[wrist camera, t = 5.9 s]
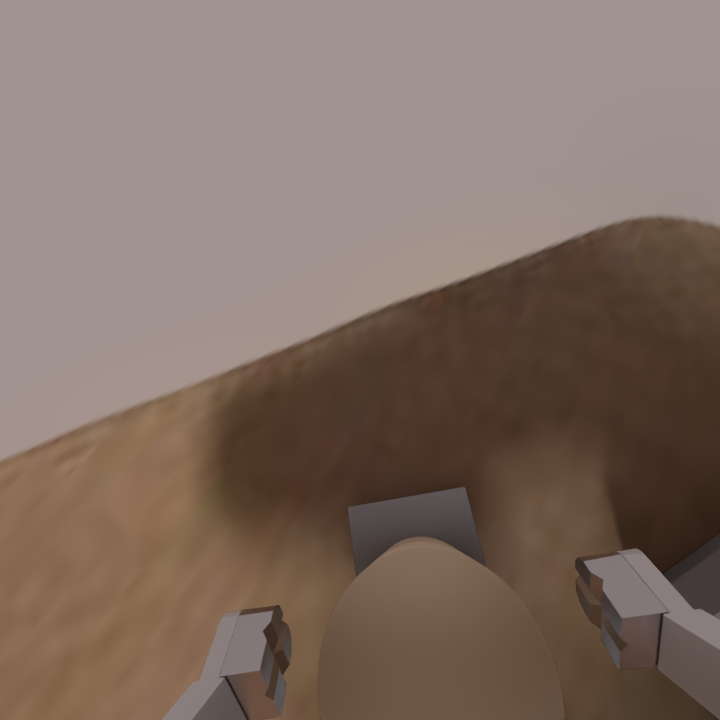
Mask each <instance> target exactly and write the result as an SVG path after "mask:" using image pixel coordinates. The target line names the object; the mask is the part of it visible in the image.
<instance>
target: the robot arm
mask: <svg viewBox="0 0 720 720" xmlns="http://www.w3.org/2000/svg"><path fill="white" fill-rule="evenodd" d="M575 568H576V570H577V571H578V573H579V574H580V576H579V577H578V578H577V579H576V591H577V594H578V598H579V601H580V603H581V606H582V608H583V610H584V612H585V614H586V615H587V617H588V619H589V621H590V622H592V623H593V624H594V625H596V626H597V627H599V628H600V629H601V641H602V642H603V644H604V646H605V647H606V649H607V651H608V652H609V654H610V656H611V657H612V659H613V661H614V662H615V664H616V666H617V667H618V669H619V671H621V670H631V669H641V668H650V667H658V668H657V669H658V670H659V671H660V672H662V673H663V674H664V675H665V676H666V677H668V678H669V679H670V680H671V681H673V682H674V683H675V684H676V685H677V686H679V687H680V688H681V689H682V690H684V691H685V692H686V693H687V694H688V695H690V696H691V697H692V698H693V699H695V700H696V701H697V702H698V703H700V704H701V705H702V706H703V707H704V708H706V709H707V710H708V711H709V712H711V713H712V714H713V715H714V716H715V717H717V718H718V719H719V720H720V619H718V618H716V617H714V616H712V615H711V614H709V613H707V612H705V611H704V610H702V609H693V608H692V607H691V606H690V605H689V604H688V602H687V601H686V600H685V599H684V598H683V597H682V596H681V595H680V593H679V592H678V591H677V590H676V589H675V588H674V587H673V586H672V584H671V583H670V582H669V581H668V580H667V579H666V578H665V577H664V576H663V574H662V573H661V572H660V571H659V570H658V569H657V568H656V567H655V565H654V564H653V563H652V562H651V561H650V560H649V559H648V558H647V557H646V555H645V554H644V553H643V552H642V551H640V550H639V549H629V550H623V551H617V552H614V551H613V552H607V553H602V554H596V555H590V556H584V557H579V558H577V559H576V564H575ZM282 616H283V612H282V610H281V608H280V606H279V605H276V606H269V607H261V608H253V609H245V610H238V611H231V612H225V614H224V615H223V617H222V618H221V620H220V623H219V626H218V628H217V631H216V634H215V637H214V640H213V642H212V645H211V648H210V651H209V654H208V657H207V659H206V662H205V665H204V668H203V671H202V673H201V676H200V679H199V681H194V682H193V683H192V684H191V685H190V686H189V688H188V689H187V690H186V691H185V692H184V694H183V695H182V696H181V697H180V698H179V700H178V701H177V702H176V703H175V704H174V705H173V707H172V708H171V709H170V710H169V711H168V713H167V714H166V715H165V716H164V717H163V719H162V720H262V719H268V718H274V717H280V716H281V715H282V708H283V702H284V696H285V690H286V683H285V680H284V678H283V676H282V675H283V674H284V672H285V671H286V669H287V668H288V666H289V665H290V658H291V634H290V630H289V627H288V624H286V623H285V622H283V621H282Z"/></svg>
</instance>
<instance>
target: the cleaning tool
mask: <svg viewBox="0 0 720 720" xmlns="http://www.w3.org/2000/svg"><path fill="white" fill-rule="evenodd" d="M348 515H349V523H350V530H351V538H352V546H353V554H354V562H355V570H356V578H355V579H354V580H353V581H352V583H351V584H350V585H349V586H348V588H347V589H346V590H345V592H344V593H343V594H342V596H341V597H340V599H339V601H338V603H337V605H336V606H335V608H334V610H333V612H332V615H331V617H330V619H329V622H328V624H327V627H326V631H325V634H324V637H323V641H322V646H321V651H320V657H319V665H318V679H317V680H318V703H319V711H320V718H321V720H565V708H564V701H563V694H562V687H561V683H560V679H559V675H558V671H557V667H556V664H555V661H554V658H553V656H552V653H551V650H550V647H549V645H548V643H547V641H546V639H545V637H544V634H543V632H542V630H541V628H540V627H539V625H538V623H537V622H536V620H535V618H534V617H533V615H532V613H531V612H530V610H529V609H528V608H527V606H526V605H525V604H524V603H523V601H522V600H521V599H520V597H519V596H518V595H517V594H516V593H515V592H514V591H513V590H512V589H511V588H510V587H509V586H508V584H507V583H505V582H504V581H503V580H502V579H501V578H499V577H498V576H497V575H496V574H495V573H494V572H492V571H491V570H489V569H488V568H486V564H485V561H484V557H483V553H482V549H481V546H480V542H479V538H478V534H477V530H476V527H475V523H474V519H473V515H472V512H471V508H470V504H469V500H468V496H467V493H466V489H465V487H460V488H454V489H448V490H443V491H437V492H431V493H426V494H420V495H414V496H408V497H403V498H397V499H391V500H386V501H380V502H374V503H368V504H363V505H357V506H351V507H348Z"/></svg>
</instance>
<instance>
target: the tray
mask: <svg viewBox="0 0 720 720" xmlns="http://www.w3.org/2000/svg"><path fill="white" fill-rule="evenodd" d="M663 576H664V577H665V578H666V579H667V580H668V581H669V582H670V583H671V584H672V586H673V587H674V588H675V589H676V590H677V591H678V592H679V593H680V595H681V596H682V597H683V598H684V599H685V600H686V601H687V602H688V604H689V605H690V606H691V607H692V608H693V609H702V610H704V611H705V612H707V613H709V614H711V615H712V616H714V617H716V618H718V619H720V533H719V534H718V535H716V536H715V537H713V538H712V539H711V540H709V541H708V542H706V543H705V544H704V545H702V546H701V547H699V548H698V549H697V550H695V551H694V552H692V553H691V554H690V555H688V556H687V557H685V558H684V559H683V560H681V561H680V562H678V563H677V564H676V565H674V566H673V567H671V568H670V569H669V570H667V571H666V572H664V573H663Z"/></svg>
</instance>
